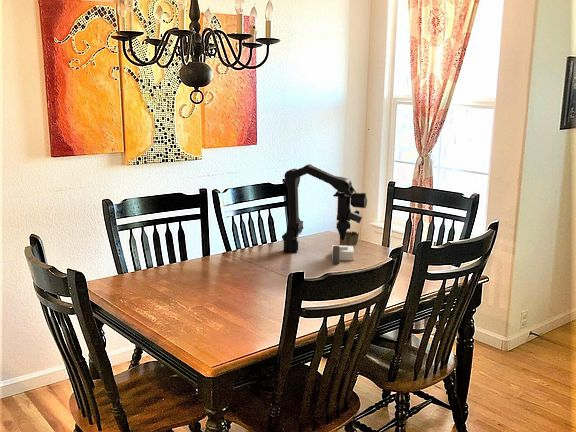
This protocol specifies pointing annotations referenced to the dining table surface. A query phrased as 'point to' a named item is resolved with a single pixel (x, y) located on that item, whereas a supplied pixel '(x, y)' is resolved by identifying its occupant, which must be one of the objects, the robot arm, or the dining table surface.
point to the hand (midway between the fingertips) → (342, 239)
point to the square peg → (343, 242)
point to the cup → (351, 238)
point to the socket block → (345, 252)
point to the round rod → (336, 254)
